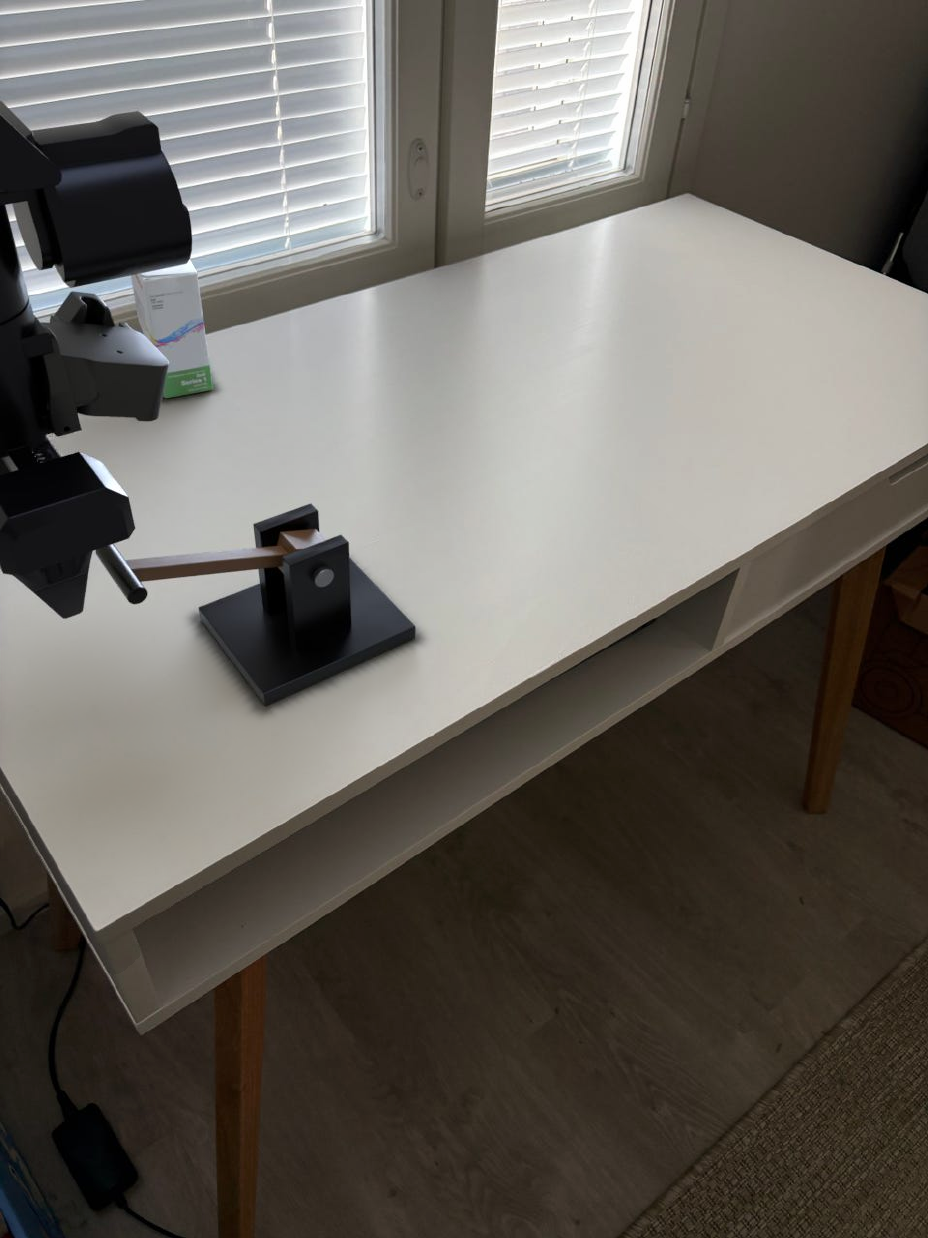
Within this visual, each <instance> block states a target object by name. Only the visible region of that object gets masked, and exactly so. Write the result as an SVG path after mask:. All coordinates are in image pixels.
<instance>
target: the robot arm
mask: <svg viewBox="0 0 928 1238" xmlns="http://www.w3.org/2000/svg"><path fill="white" fill-rule="evenodd" d="M160 135H161V134H160V129H159V126H158V125H156V124H155V123H154V122H153V121H151V120H150V119H149V118H148V117H147V116H146V115H144V114H143V113H142V112H141V111H139V110H136V111H127V112H121V113H115V114H112V115H110V116H108V117H105V118H102V119H101V120H96V121H91V122H83V123H76V124H69V125H61V126H55V127H47V128H39V129H32V130H31V129H30V128H29V127H28V126H27V125H26V124H25V122H23V121H22V120H21V119H20V118H19V117H18V116H17V115H16V114H15V113H14V112H13V111H12V110H11V109H10V108H9V106H7V105H6V104H5V103H4V102H3V101H2V100H0V571H1V573H2V574H3V575H10V576H13V578H15V579H17V580H18V581H19V582H20V583H22V584H23V585H24V586H25V587H26V588H27V589H29V591H31V592H32V593H33V594H34V595H36V596H37V597H38V598H39V599H40V600H41V601H42V602H44V603H45V604H46V606H48V608H50V609H51V610H52V611H53V612H54V613H56V614H57V615H58V616H59V617H60V618H61V619H64V620H68V619H70V618H72V617H75V616H77V615H81V613H83V612H84V608H85V603H86V602H85V601H86V593H87V585H88V580H89V579H88V578H89V571H90V564H91V560H92V555H93V552H95V551H96V550H97V549H100V548H103V547H106V546H109V545H112V544H114V545H115V544H117V543H120V542H123V541H126V540H129V539H130V538H131V536H132V535H133V533H134V531H135V530H136V525H135V524H136V523H135V520H134V516H133V515H134V514H133V511H132V507H131V501H130V497H129V496H128V494H127V493H126V492H125V490H124V489H123V488H122V487H121V485H120V484H119V483H118V482H117V480H116V479H115V478H114V476H113V475H112V473H110V471H109V470H108V468H107V467H106V466H105V464H104V462H103V461H101V460H99V459H96V458H94V457H92V456H90V455H88V454H85V453H83V452H81V451H76V452H73V453H69V454H65V455H63V456H61V454H60V452H59V451H58V450H57V448H56V447H55V446H54V445H53V443H52V442H51V441H50V439H49V438H48V436H47V435H52V434H54V435H55V437H59V438H60V437H64V436H66V435H70V434H74V433H77V432H80V431H83V430H82V424H81V420H80V417H79V415H82V416H85V417H86V416H88V417H104V418H129V419H130V418H132V419H136V420H137V421H138V422H143V423H147V422H154V421H157V420H158V419H159V416H160V411H161V407H162V401H163V391H164V386H165V381H166V376H167V371H168V366H169V361H168V360H167V359H166V358H165V357H164V355H163V354H162V353H161V352H160V351H159V350H158V349H157V348H156V347H155V346H154V345H153V344H152V343H151V342H150V341H149V340H148V339H147V338H146V337H145V336H144V335H143V334H141V332H140V331H137V330H135V329H133V328H132V327H130V326H129V325H128V323H127V322H123V321H122V322H121V321H119V322H118V326H117V325H116V323H115V320H114V317H113V315H112V311H111V308H110V307H109V306H108V305H107V304H106V303H105V302H104V301H103V300H102V298H101V297H100V296H99V295H97V293H91V292H81V291H74V290H72V291H70V292H69V293H68V295H67V296H66V298H65V299H64V300H63V302H62V303H61V305H60V306H59V308H58V309H57V310H56V312H55V313H54V314H53V315H52V314H51V315H50V318H49V322H42V321H40V320H39V318H38V317H37V316H35V314H34V310H33V307H32V304H31V299H30V296H29V292H28V288H27V284H26V280H25V276H24V271H23V269H22V264H21V261H20V257H19V256H20V255H19V253H18V249H17V245H16V241H15V236H14V233H13V229H12V226H11V221H10V217H9V213H8V210H7V205H12V208H13V212H14V217H15V220H16V223H17V227H18V229H19V232H20V236H21V238H22V241H23V244H24V246H25V248H26V251H27V253H28V255H29V257H30V259H31V261H32V263H33V265H34V266H35V268H36V269H37V270H38V271H45V270H49V269H53V268H54V267H55V269H56V271H57V273H58V275H59V276H60V278H61V281H62V282H63V283H64V284H65V285H66V286H67V287H69V288H71V289H73V288H78V287H83V286H88V285H91V284H97V283H101V282H106V281H111V280H116V279H121V278H125V277H131V275H136V274H141V273H145V272H150V271H155V270H160V269H165V268H169V267H174V266H179V265H184V264H187V263H188V261H189V260H191V257H192V253H193V231H192V230H193V229H192V222H191V215H190V211H189V209H188V207H187V206H186V205H185V204H184V203H183V200H182V196H181V195H182V194H181V193H180V189H179V186H178V183H177V180H176V177H175V174H174V171H173V169H172V167H171V164H170V163H169V161H168V159H167V157H166V155H165V152H163V149H162V142H161V136H160Z"/></svg>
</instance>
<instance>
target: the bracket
mask: <svg viewBox="0 0 928 1238" xmlns="http://www.w3.org/2000/svg"><path fill="white" fill-rule="evenodd" d="M319 517H320V515H319V510H318V508H316V506H315V505H314V504H313V503H308V504H305V505H302V506H299V507H297V508H294V509H291V510H289V511H285V512H282V513H279V514H277V515H274V516H272V517H269V518H266V519H263V520H261V521H257V522H254V523H253V526H252V527H253V534H254V535H253V536H254V543H255V548H260V547H271V546H277V543H278V539H279V535H280V532H286V531H298V530H309V529H316V530H317V531H318V532H319V533H320V518H319ZM282 560H283V571H284V574H283V573H282V571H281V570H280V569H279V568H278V567H273V568H263V569H257V570H258V577H259V583H257V584H254V585H252V586H249V587H246V588H244V589H241V590H239V591H236V592H234V593H231V594H229V595H227V596H223V597H221V598H219V599H216V600H213V601H211V602H208V603H206V604H203V605H201V606H199V607H198V613H199V614H198V615H199V618H200V621H201V622H202V624H204V626H205V627H206V629H207V630H208V631H209V633H210V634H211V636H212V637H213V638H214V639H215V641H216V642H217V643H218V645H219V646H220V647H221V649H222V650H223V652H224V653H225V654H226V656H227V657H228V659H230V661H231V663H233V665H234V666H235V667H236V669H237V670H238V671H239V673H240V675H242V677H243V678H244V679H245V681H246V682H247V683H248V685H249V686H250V688H251V690H253V692H254V693H255V694H256V695H257V697H258V699H259V700H260V701H261V702H262V704H263V705H264V706H268V705H271V704H273V703H275V702H278V701H280V700H283V699H284V698H286V697H288V696H290V695H293V694H296V693H297V692H299V691H301V690H304V689H307V688H308V687H310V686H313V685H315V684H317V683H319V682H321V681H324V680H326V679H329V678H331V677H333V676H336V675H338V674H339V673H342V672H344V671H346V670H349V669H350V668H352V667H355V666H357V665H358V664H361V663H363V662H365V661H368V660H370V659H372V658H374V657H377V656H379V655H381V654H383V653H385V652H388V651H390V650H392V649H395V648H396V647H399V646H401V645H403V644H406V643H408V642H410V641H412V640H414V639H416V631H417V630H416V625H415V624H414V623H413V622H412V621H411V620H410V619H409V618H408V617H407V616H406V614H404V612H403V611H401V609H400V608H399V607H398V606H396V604H395V603H394V602H393V601H392V600H391V599H390V598H389V597H388V596H387V595H386V594H385V592H383V591H382V589H381V588H380V587H379V586H378V585H377V584H376V583H375V582H374V581H373V580H372V579H371V578H370V576H368V575H367V573H365V572H364V571H363V569H362V568H361V567H360V566H359V565H358V564H357V563H356V562H355V561H354V560H353V559H352V558H351V557H350V543H349V541H348V540H347V539H346V537H345V536H344V535H343V534H338V535H336V536H333V537H331V538H330V537H329V538H328V539H326V540H325V541H322V542H320V543H317V544H315V545H312V546H309V547H307V548H304V549H302V550H299V551H296V552H294V553H291V554H288V555H286V556H283V557H282Z"/></svg>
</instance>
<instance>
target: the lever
mask: <svg viewBox="0 0 928 1238" xmlns="http://www.w3.org/2000/svg"><path fill="white" fill-rule="evenodd" d="M325 540H327V539H326V538H325V537H324V536H323V535H322V534H321V533H320V531H319V532H318V531H317V530H316V529H309V530H298V531H286V532H280V535H279V539H278V543H277V546H271V547H260V548H256V547H249V548H242V549H241V548H240V549H239V548H238V549H231V550H219V551H208V552H199V553H186V554H176V555H166V556H155V557H145V558H135V559H125V557H124V556H123V555H122V553H121V552H120V550H119V549H118V548H117V546H116V545H115V543H114V544H112V545H109V546H106V547H103V548H100V549H97V550H95V555H96V557H97V558H98V560H99V561H100V562H101V564H102V566H103V567H104V568H105V570H106V571H107V573H108V575H110V577H111V578H112V580H113V581H114V583H115V584H116V587H118V589H119V590H120V591H121V593H122V594H123V596H124V597H125V599H126V600H127V602H128V603H130V604H131V605H139V604H142V603H143V602H144V601H145V600H146V599H147V598H148V590H147V588H146V587H145V585H143V583H144V582H152V581H154V582H155V581H161V580H163V581H164V580H171V579H178V578H179V579H180V578H181V579H182V578H190V577H198V576H209V575H217V574H226V573H233V572H234V573H235V572H246V571H253V570H258V569H263V568H273V567H278V568H279V569H280V570H281V571H282V573H283V574H284V571H283V560H282V557H283V556H286V555H288V554H291V553H294V552H296V551H299V550H302V549H304V548H307V547H309V546H312V545H315V544H317V543H320V542H322V541H325Z"/></svg>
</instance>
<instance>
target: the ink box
mask: <svg viewBox="0 0 928 1238" xmlns="http://www.w3.org/2000/svg"><path fill="white" fill-rule="evenodd" d="M130 280H131V285H132V292H133V296H134V303H135V309H136V313H137V320H138V326H139V332H140V333H141V334H143V335H144V336H145V337H146V338H147V339H148V340H149V341H150V342H151V343H152V344H153V345H154V346H155V347H156V348H157V349H158V350H159V351H160V352H161V353H162V354H163V355H164V357H165V358H166V359H167V360H168V361H169V366H168V371H167V376H166V381H165V386H164V391H163V396H162V398H165V399H171V398H175V397H176V398H177V397H181V396H186V395H192V394H197V393H203V392H208V391H213V389H214V385H213V378H212V371H211V364H210V358H209V357H210V356H209V351H208V350H209V349H208V343H207V335H206V330H205V322H204V321H205V320H204V314H203V306H202V305H203V304H202V298H201V297H202V296H201V292H200V283H199V275H198V272H197V270H196V268H195V266H194V264H193V263H192V261H191V259H190V260H189V261H188V263H187V264H184V265H179V266H174V267H169V268H165V269H160V270H155V271H150V272H145V273H141V274H136V275H131V276H130Z"/></svg>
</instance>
